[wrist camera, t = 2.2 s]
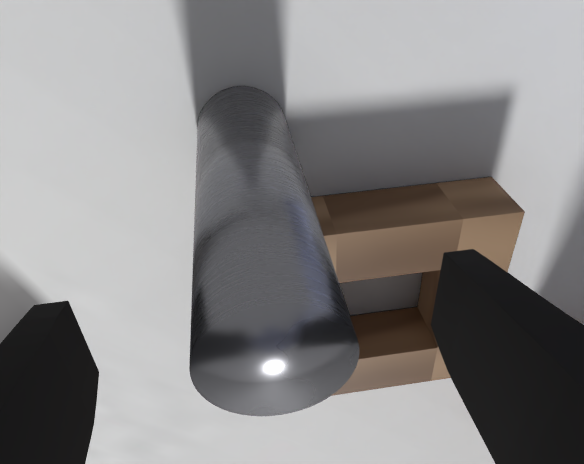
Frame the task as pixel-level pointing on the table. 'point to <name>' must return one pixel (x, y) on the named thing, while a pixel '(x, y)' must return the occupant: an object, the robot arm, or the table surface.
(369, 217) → the hole block
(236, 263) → the peg
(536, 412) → the robot arm
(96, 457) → the table surface
